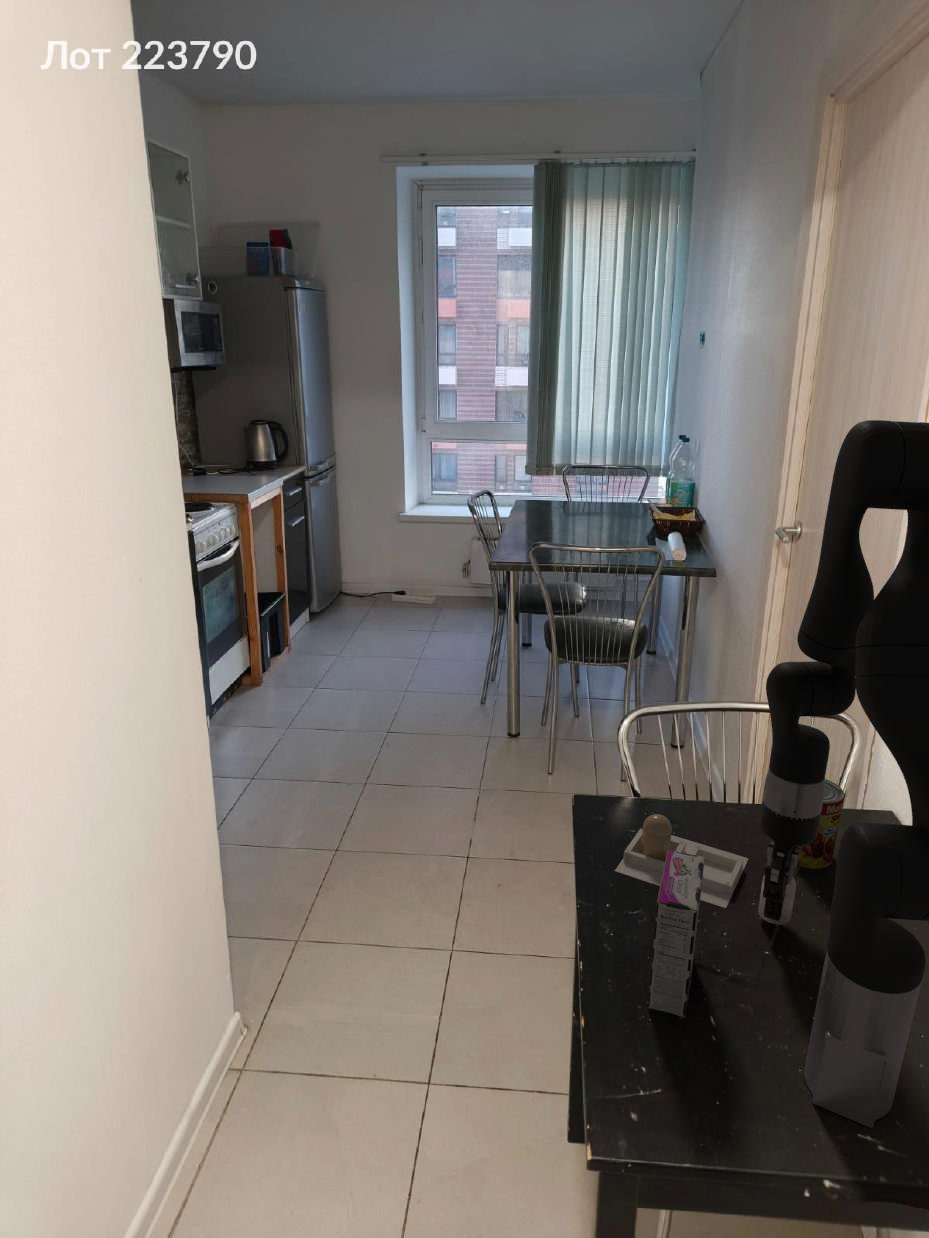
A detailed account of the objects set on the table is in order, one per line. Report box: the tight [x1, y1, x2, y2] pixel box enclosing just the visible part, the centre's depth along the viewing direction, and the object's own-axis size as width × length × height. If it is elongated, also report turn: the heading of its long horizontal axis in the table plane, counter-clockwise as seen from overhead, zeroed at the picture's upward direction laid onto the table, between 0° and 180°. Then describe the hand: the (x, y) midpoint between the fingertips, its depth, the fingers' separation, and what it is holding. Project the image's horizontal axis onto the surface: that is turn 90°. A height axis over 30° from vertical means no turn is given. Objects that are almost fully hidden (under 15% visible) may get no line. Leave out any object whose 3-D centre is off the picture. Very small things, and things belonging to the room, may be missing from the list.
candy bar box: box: [647, 850, 704, 1019], centre depth 108 cm, size 11×5×16 cm, turn 161°
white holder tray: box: [614, 827, 749, 909], centre depth 134 cm, size 14×17×2 cm
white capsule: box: [757, 872, 797, 926], centre depth 120 cm, size 4×4×7 cm
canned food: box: [797, 778, 845, 870], centre depth 136 cm, size 8×8×12 cm
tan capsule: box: [641, 813, 673, 862], centre depth 135 cm, size 4×4×7 cm
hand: (775, 907), depth 121 cm, fingers closed on white capsule, 4 cm apart
